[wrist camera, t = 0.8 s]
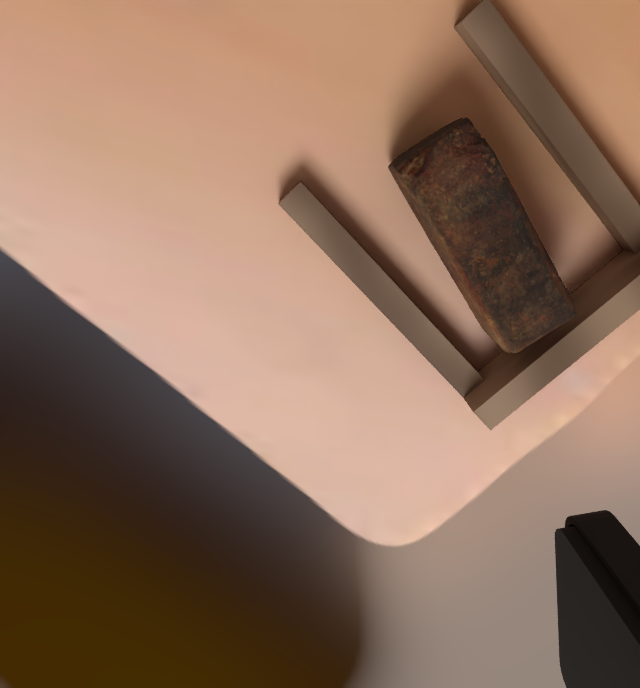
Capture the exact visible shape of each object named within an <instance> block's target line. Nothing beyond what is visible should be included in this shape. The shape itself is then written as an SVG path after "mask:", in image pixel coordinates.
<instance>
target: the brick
mask: <svg viewBox="0 0 640 688" xmlns="http://www.w3.org/2000/svg"><path fill="white" fill-rule="evenodd" d="M388 168H389V170H390V172H391V173H392V175H393V177H394V179H395V181H396V182H397V184H398V186H399V188H400V190H401V192H402V193H403V195H404V196H405V198H406V200H407V202H408V204H409V205H410V207H411V209H412V210H413V212H414V214H415V216H416V217H417V219H418V221H419V222H420V224H421V226H422V227H423V229H424V231H425V233H426V235H427V236H428V238H429V240H430V242H431V243H432V245H433V246H434V248H435V250H436V251H437V253H438V255H439V256H440V258H441V260H442V261H443V263H444V265H445V266H446V268H447V270H448V271H449V273H450V275H451V277H452V278H453V280H454V282H455V283H456V285H457V287H458V288H459V290H460V292H461V293H462V295H463V297H464V298H465V300H466V301H467V303H468V305H469V307H470V309H471V310H472V312H473V314H474V315H475V317H476V319H477V320H478V322H479V324H480V325H481V327H482V328H483V329H484V331H485V332H486V333H487V334H488V335H489V336H490V337H491V338H492V339H493V340H494V341H495V342H496V343H497V344H498V345H499V346H500V347H501V348H502V349H503V351H504V352H505V351H507V352H508V353H510V352H512V353H518V352H520V351H521V350H523V349H524V348H526V347H527V346H529V345H530V344H532V343H533V342H535V341H537V340H538V339H540V338H541V337H543V336H545V335H546V334H548V333H549V332H551V331H553V330H554V329H556V328H557V327H559V326H561V325H562V324H564V323H566V322H567V321H569V320H571V319H572V318H574V317H575V315H576V311H575V308H574V304H573V301H572V299H571V297H570V295H569V294H568V292H567V290H566V288H565V286H564V284H563V282H562V280H561V278H560V277H559V275H558V273H557V271H556V269H555V267H554V265H553V263H552V261H551V260H550V257H549V255H548V253H547V252H546V250H545V248H544V246H543V244H542V242H541V240H540V238H539V237H538V235H537V233H536V231H535V229H534V227H533V225H532V223H531V222H530V220H529V218H528V216H527V214H526V212H525V210H524V208H523V206H522V204H521V202H520V200H519V198H518V196H517V194H516V193H515V191H514V189H513V187H512V186H511V184H510V182H509V179H508V178H507V176H506V174H505V172H504V170H503V169H502V167H501V165H500V163H499V161H498V159H497V157H496V155H495V153H494V151H493V150H492V149H491V147H490V146H489V145H488V143H487V142H486V140H485V139H484V138H482V137H481V135H480V134H479V133H478V132H477V130H476V129H475V128H474V126H473V124H472V122H471V121H470V120H469V119H468V118H464V119H463V118H461V119H458V120H456V121H454V122H452V123H450V124H448V125H447V126H445V127H443V128H441V129H440V130H438V131H437V132H435V133H433V134H432V135H430V136H429V137H427V138H426V139H424V140H422V141H421V142H419V143H418V144H416V145H415V146H413V147H412V148H410V149H409V150H408V151H406V152H404V153H402V154H401V155H400V156H398V157H397V158H396V159H394V160H393V162H392V163H391V164H390V165H389V167H388Z"/></svg>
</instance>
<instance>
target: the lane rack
mask: <svg viewBox="0 0 640 688" xmlns="http://www.w3.org/2000/svg"><path fill="white" fill-rule="evenodd" d="M454 28H455V29H456V31H457V32H458V33H459V34H460V36H461V37H462V38H463V40H464V41H465V42H466V44H467V45H468V46H469V48H470V49H471V50H472V52H473V53H474V54H475V56H476V57H477V58H478V59H479V61H480V62H481V63H482V65H483V66H484V67H485V69H486V70H487V71H488V73H489V74H490V75H491V77H492V78H493V79H494V81H495V82H496V83H497V84H498V86H499V87H500V88H501V90H502V91H503V92H504V94H505V95H506V96H507V98H508V99H509V100H510V102H511V103H512V104H513V105H514V107H515V108H516V109H517V111H518V112H519V113H520V115H521V116H522V117H523V119H524V120H525V121H526V123H527V124H528V125H529V127H530V128H531V129H532V130H533V132H534V133H535V134H536V136H537V137H538V138H539V140H540V141H541V142H542V144H543V145H544V146H545V148H546V149H547V150H548V152H549V153H550V154H551V155H552V157H553V158H554V159H555V161H556V162H557V163H558V165H559V166H560V167H561V169H562V170H563V171H564V173H565V174H566V175H567V176H568V178H569V179H570V180H571V182H572V183H573V184H574V186H575V187H576V188H577V190H578V191H579V192H580V194H581V195H582V196H583V198H584V199H585V200H586V201H587V203H588V204H589V205H590V207H591V208H592V209H593V211H594V212H595V213H596V215H597V216H598V217H599V219H600V220H601V221H602V223H603V224H604V225H605V226H606V228H607V229H608V230H609V232H610V233H611V234H612V236H613V237H614V238H615V240H616V241H617V242H618V244H619V245H620V246H621V248H622V249H623V251H622V252H620V253H619V254H618V255H617V256H616V257H615V258H613V259H612V260H611V261H610V262H609V263H607V264H606V265H605V266H604V267H603V268H601V269H600V270H599V271H598V272H597V273H595V274H594V275H593V276H592V277H591V278H589V279H588V280H587V281H586V282H585V283H584V284H582V285H581V286H580V287H579V288H578V289H576V290H575V291H574V292H573V293H572V294H570V297H571V299H572V301H573V304H574V308H575V311H576V315H575V317H574V318H572V319H571V320H569V321H567V322H566V323H564V324H562V325H561V326H559V327H557V328H556V329H554V330H553V331H551V332H549V333H548V334H546V335H545V336H543V337H541V338H540V339H538V340H537V341H535V342H533V343H532V344H530V345H529V346H527V347H526V348H524V349H523V350H521V351H520V352H518V353H512V352H510V353H508V352H507V351H505V352H504V351H502V352H501V353H500V354H499V355H498V356H497V357H495V358H494V359H493V360H492V361H491V362H489V363H488V364H487V365H486V366H485V367H483V368H482V369H481V370H480V371H479V372H478V371H477V370H476V369H475V368H474V367H473V366H472V365H471V364H470V363H469V362H468V361H467V360H466V358H465V357H464V356H463V355H462V354H461V353H460V352H459V351H458V350H457V349H456V348H455V347H454V346H453V344H452V343H451V342H450V341H449V340H448V339H447V338H446V337H445V336H444V335H443V334H442V333H441V332H440V330H439V329H438V328H437V327H436V326H435V325H434V324H433V323H432V322H431V321H430V320H429V319H428V318H427V316H426V315H425V314H424V313H423V312H422V311H421V310H420V309H419V308H418V307H417V306H416V305H415V303H414V302H413V301H412V300H411V299H410V298H409V297H408V296H407V295H406V294H405V293H404V292H403V291H402V289H401V288H400V287H399V286H398V285H397V284H396V283H395V282H394V281H393V280H392V279H391V278H390V277H389V275H388V274H387V273H386V272H385V271H384V270H383V269H382V268H381V267H380V266H379V265H378V264H377V263H376V261H375V260H374V259H373V258H372V257H371V256H370V255H369V254H368V253H367V252H366V251H365V250H364V249H363V247H362V246H361V245H360V244H359V243H358V242H357V241H356V240H355V239H354V238H353V237H352V236H351V235H350V233H349V232H348V231H347V230H346V229H345V228H344V227H343V226H342V225H341V224H340V223H339V222H338V221H337V219H336V218H335V217H334V216H333V215H332V214H331V213H330V212H329V211H328V210H327V209H326V208H325V207H324V205H323V204H322V203H321V202H320V201H319V200H318V199H317V198H316V197H315V196H314V195H313V194H312V193H311V191H310V190H309V189H308V188H307V187H306V186H305V185H304V184H303V183H302V182H301V181H299V182H298V183H297V184H296V185H295V186H294V187H293V188H292V189H291V190H290V191H289V192H288V193H287V194H286V195H285V196H284V197H283V198H282V199H281V200H280V201H279V205H280V206H281V207H282V208H283V209H284V210H285V211H286V212H287V214H288V215H289V216H290V217H291V218H292V219H293V220H294V221H295V222H296V223H297V224H298V225H299V226H300V227H301V228H302V229H303V230H304V231H305V232H306V233H307V234H308V235H309V237H310V238H311V239H312V240H313V241H314V242H315V243H316V244H317V245H318V246H319V247H320V248H321V249H322V250H323V251H324V252H325V253H326V254H327V255H328V256H329V257H330V259H331V260H332V261H333V262H334V263H335V264H336V265H337V266H338V267H339V268H340V269H341V270H342V271H343V272H344V273H345V274H346V275H347V276H348V277H349V278H350V279H351V280H352V282H353V283H354V284H355V285H356V286H357V287H358V288H359V289H360V290H361V291H362V292H363V293H364V294H365V295H366V296H367V297H368V298H369V299H370V300H371V301H372V302H373V303H374V305H375V306H376V307H377V308H378V309H379V310H380V311H381V312H382V313H383V314H384V315H385V316H386V317H387V318H388V319H389V320H390V321H391V322H392V323H393V324H394V325H395V327H396V328H397V329H398V330H399V331H400V332H401V333H402V334H403V335H404V336H405V337H406V338H407V339H408V340H409V341H410V342H411V343H412V344H413V345H414V346H415V347H416V348H417V350H418V351H419V352H420V353H421V354H422V355H423V356H424V357H425V358H426V359H427V360H428V361H429V362H430V363H431V364H432V365H433V366H434V367H435V368H436V369H437V370H438V372H439V373H440V374H441V375H442V376H443V377H444V378H445V379H446V380H447V381H448V382H449V383H450V384H451V385H452V386H453V387H454V388H455V389H456V390H457V391H458V392H459V393H460V395H461V396H462V397H463V398H464V399H465V401H466V402H467V404H468V405H469V406H470V408H471V409H472V411H473V412H474V413H475V414H476V415H477V416H478V418H479V419H480V420H481V421H482V422H483V423H484V424H485V425H486V426H487V427H488V428H489V429H490V430H492V429H493V428H494V427H495V426H497V425H498V424H499V423H500V422H501V421H503V420H504V419H505V418H506V417H508V416H509V415H510V414H511V413H513V412H514V411H515V410H516V409H517V408H519V407H520V406H521V405H522V404H524V403H525V402H526V401H527V400H529V399H530V398H531V397H532V396H534V395H535V394H536V393H537V392H538V391H540V390H541V389H542V388H543V387H545V386H546V385H547V384H548V383H550V382H551V381H552V380H553V379H555V378H556V377H557V376H558V375H559V374H561V373H562V372H563V371H564V370H566V369H567V368H568V367H569V366H571V365H572V364H573V363H574V362H576V361H577V360H578V359H579V358H580V357H582V356H583V355H584V354H585V353H587V352H588V351H589V350H590V349H592V348H593V347H594V346H595V345H596V344H598V343H599V342H600V341H601V340H603V339H604V338H605V337H606V336H608V335H609V334H610V333H611V332H613V331H614V330H615V329H616V328H617V327H619V326H620V325H621V324H622V323H624V322H625V321H626V320H627V319H629V318H630V317H631V316H632V315H634V314H635V313H636V312H637V311H638V310H640V205H639V204H638V202H637V201H636V200H635V198H634V197H633V196H632V194H631V193H630V192H629V190H628V189H627V187H626V186H625V185H624V183H623V182H622V181H621V179H620V178H619V176H618V175H617V174H616V172H615V171H614V170H613V168H612V167H611V165H610V164H609V163H608V161H607V160H606V159H605V157H604V156H603V154H602V153H601V152H600V150H599V149H598V148H597V146H596V145H595V143H594V142H593V141H592V139H591V138H590V137H589V135H588V134H587V133H586V131H585V130H584V128H583V127H582V126H581V124H580V123H579V122H578V120H577V119H576V117H575V116H574V115H573V113H572V112H571V111H570V109H569V108H568V106H567V105H566V104H565V102H564V101H563V100H562V98H561V97H560V95H559V94H558V93H557V91H556V90H555V89H554V87H553V86H552V85H551V83H550V82H549V80H548V79H547V78H546V76H545V75H544V74H543V72H542V71H541V69H540V68H539V67H538V65H537V64H536V63H535V61H534V60H533V58H532V57H531V56H530V54H529V53H528V52H527V50H526V49H525V47H524V46H523V45H522V43H521V42H520V41H519V39H518V38H517V36H516V35H515V34H514V32H513V31H512V30H511V28H510V27H509V26H508V24H507V23H506V21H505V20H504V19H503V17H502V16H501V15H500V13H499V12H498V10H497V9H496V8H495V6H494V5H493V4H492V2H491V1H490V0H482V1H480V2H479V3H478V4H477V5H476V6H475V7H474V8H473V9H472V10H471V11H470V12H469V13H468V14H467V15H466V16H465V17H464V18H463V19H462V20H461V21H460V22H459V23H458V24H457V25H456V26H455V27H454Z"/></svg>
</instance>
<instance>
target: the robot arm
mask: <svg viewBox="0 0 640 688" xmlns="http://www.w3.org/2000/svg"><path fill="white" fill-rule="evenodd" d="M555 553H556V579H557V604H558V629H559V657H560V667H561V672H562V676H563V679H564V682H565V685H566V687H567V688H640V546H639V545H638V543H637V542H636V541H635V540H634V539H633V537H632V536H631V535H630V534H629V533H628V532H627V530H626V529H625V528H624V527H623V526H622V524H621V523H620V522H619V521H618V520H617V519H616V517H615V516H614V515H613V514H612V513H611V512H609V511H606V510H603V511H598V512H592V513H586V514H580V515H574V516H569V517H567V519H566V522H565V528H560V529H557V530H556V532H555Z"/></svg>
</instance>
